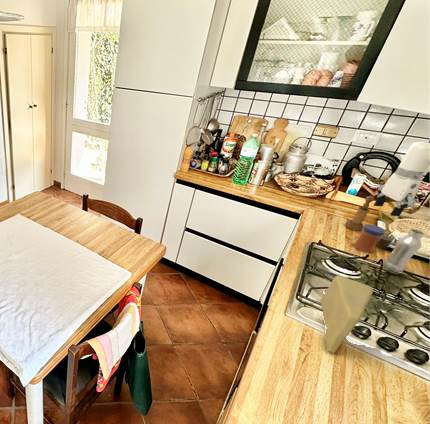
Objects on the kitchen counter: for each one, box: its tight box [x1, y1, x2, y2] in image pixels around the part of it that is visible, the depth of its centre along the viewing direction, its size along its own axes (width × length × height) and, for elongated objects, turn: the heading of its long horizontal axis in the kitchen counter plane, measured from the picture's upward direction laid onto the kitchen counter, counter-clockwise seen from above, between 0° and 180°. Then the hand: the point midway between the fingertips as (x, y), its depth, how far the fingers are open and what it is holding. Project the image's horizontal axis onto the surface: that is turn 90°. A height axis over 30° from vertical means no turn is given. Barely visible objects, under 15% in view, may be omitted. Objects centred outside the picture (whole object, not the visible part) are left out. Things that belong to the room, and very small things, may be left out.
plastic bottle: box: [382, 228, 425, 273], centre depth 122 cm, size 6×7×20 cm
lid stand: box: [375, 235, 393, 250], centre depth 143 cm, size 5×5×4 cm
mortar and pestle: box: [344, 195, 375, 232], centre depth 154 cm, size 7×6×18 cm
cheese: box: [319, 275, 374, 354], centre depth 96 cm, size 22×10×15 cm, turn 138°
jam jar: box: [353, 229, 382, 253], centre depth 139 cm, size 7×7×10 cm
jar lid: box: [362, 224, 386, 236], centre depth 137 cm, size 7×7×2 cm
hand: (385, 210), depth 132 cm, fingers open, 8 cm apart
